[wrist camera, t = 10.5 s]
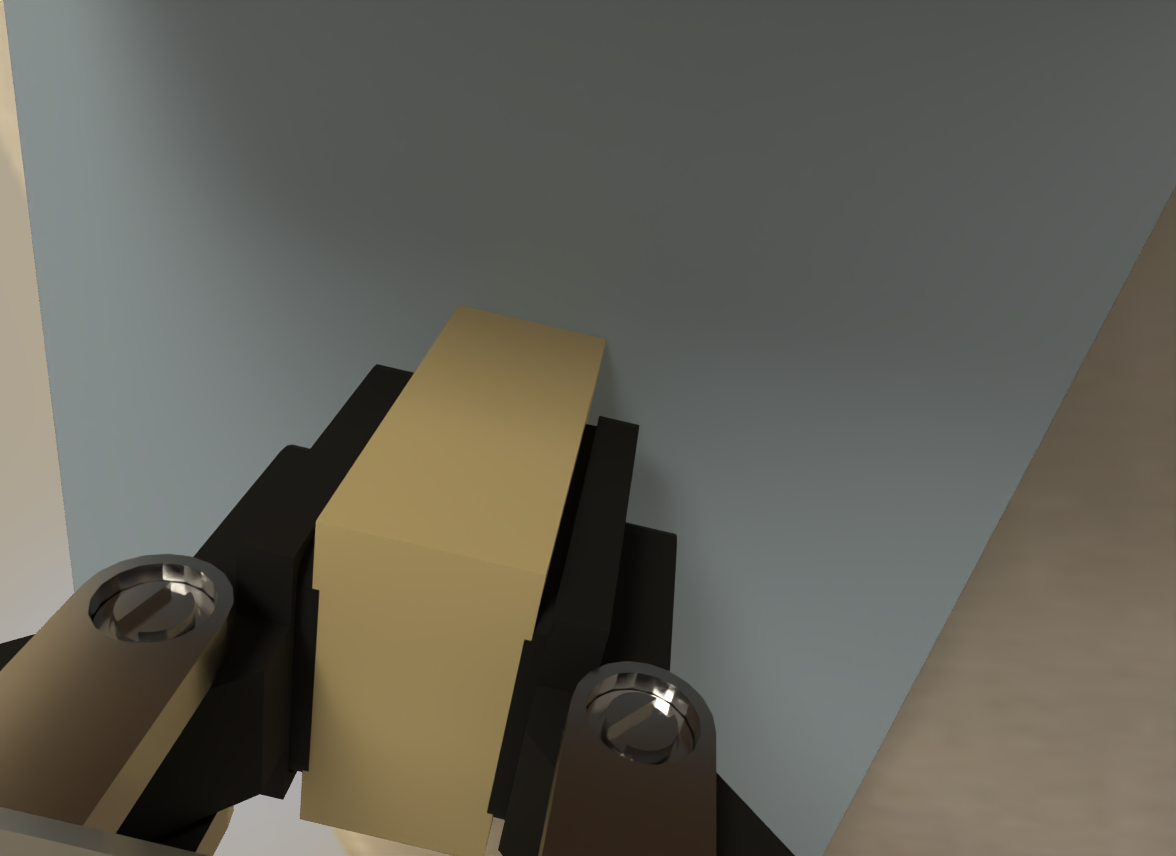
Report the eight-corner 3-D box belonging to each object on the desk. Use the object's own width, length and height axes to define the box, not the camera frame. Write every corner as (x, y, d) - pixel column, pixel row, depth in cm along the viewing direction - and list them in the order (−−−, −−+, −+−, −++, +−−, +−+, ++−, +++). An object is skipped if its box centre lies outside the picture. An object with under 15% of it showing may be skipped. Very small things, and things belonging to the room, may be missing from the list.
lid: (31, -283, 10) (-677, -494, 5) (1226, -10, 10) (1774, 60, 5) (118, 659, 18) (-132, 969, 12) (809, 822, 17) (851, 1203, 12)
